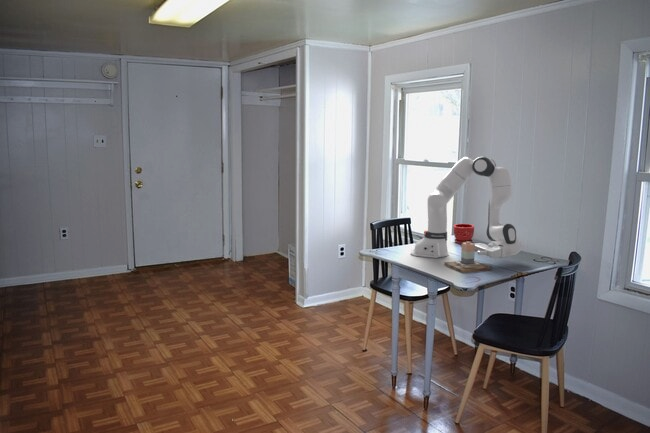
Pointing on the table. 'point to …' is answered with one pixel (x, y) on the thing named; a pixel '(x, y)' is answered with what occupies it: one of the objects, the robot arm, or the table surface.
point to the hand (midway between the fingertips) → (473, 251)
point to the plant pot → (463, 233)
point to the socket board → (467, 266)
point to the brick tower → (467, 253)
